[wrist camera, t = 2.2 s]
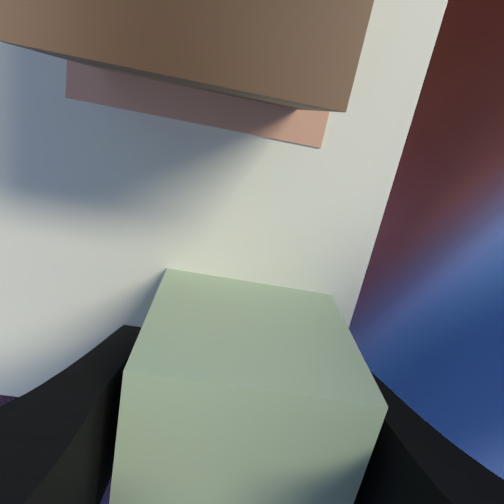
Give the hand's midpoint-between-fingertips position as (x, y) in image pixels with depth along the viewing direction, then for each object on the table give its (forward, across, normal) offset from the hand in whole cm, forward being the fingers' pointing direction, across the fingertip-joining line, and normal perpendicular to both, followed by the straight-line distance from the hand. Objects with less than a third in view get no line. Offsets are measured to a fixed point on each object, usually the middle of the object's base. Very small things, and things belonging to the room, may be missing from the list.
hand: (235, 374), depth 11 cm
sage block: (+1, 0, 0) cm, 1 cm away
